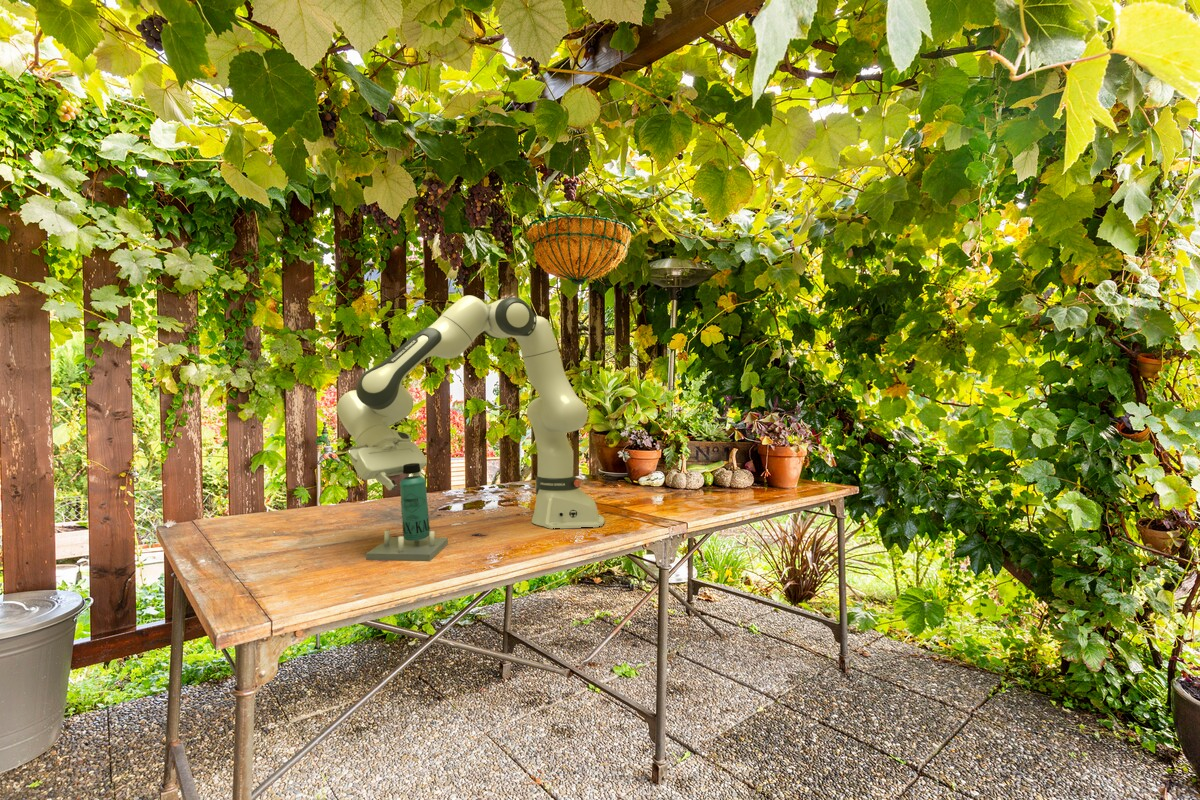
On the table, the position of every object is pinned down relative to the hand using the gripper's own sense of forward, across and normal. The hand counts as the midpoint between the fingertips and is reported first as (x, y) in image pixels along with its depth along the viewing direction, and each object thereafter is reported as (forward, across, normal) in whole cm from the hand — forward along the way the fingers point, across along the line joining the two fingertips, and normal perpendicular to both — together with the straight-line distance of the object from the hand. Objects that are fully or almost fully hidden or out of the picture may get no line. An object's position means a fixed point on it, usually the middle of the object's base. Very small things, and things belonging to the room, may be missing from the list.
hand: (407, 485), depth 137 cm
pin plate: (+12, 0, +11) cm, 16 cm away
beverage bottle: (+12, +2, +9) cm, 15 cm away
